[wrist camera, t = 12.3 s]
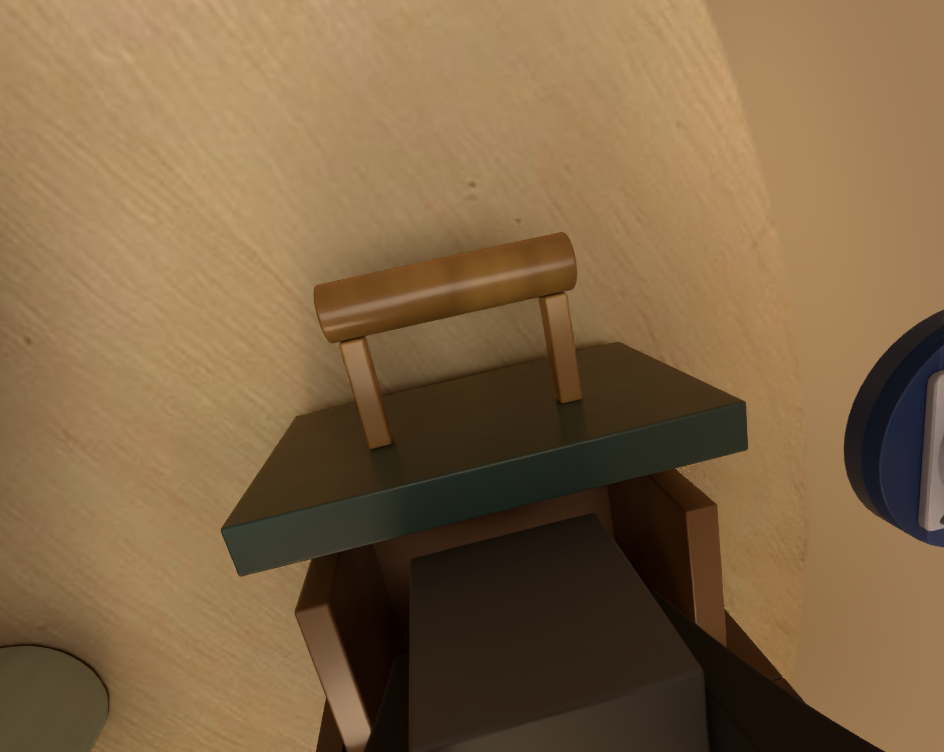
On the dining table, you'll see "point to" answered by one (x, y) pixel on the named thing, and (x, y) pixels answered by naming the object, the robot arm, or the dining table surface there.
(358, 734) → the drawer
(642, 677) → the block
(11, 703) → the cup
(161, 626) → the dining table surface
